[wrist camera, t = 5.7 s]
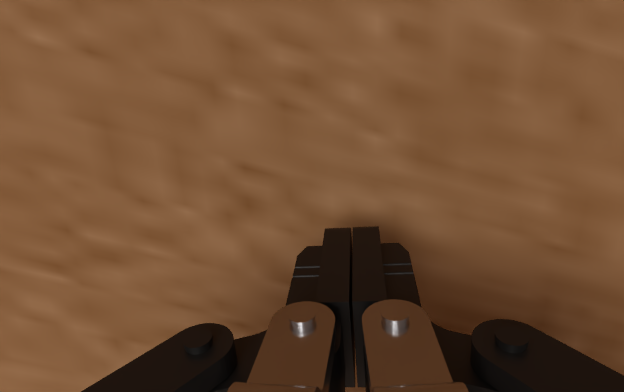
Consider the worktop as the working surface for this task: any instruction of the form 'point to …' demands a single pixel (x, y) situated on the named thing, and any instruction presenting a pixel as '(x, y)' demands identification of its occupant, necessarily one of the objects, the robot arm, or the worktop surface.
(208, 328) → the robot arm
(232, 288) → the worktop surface
